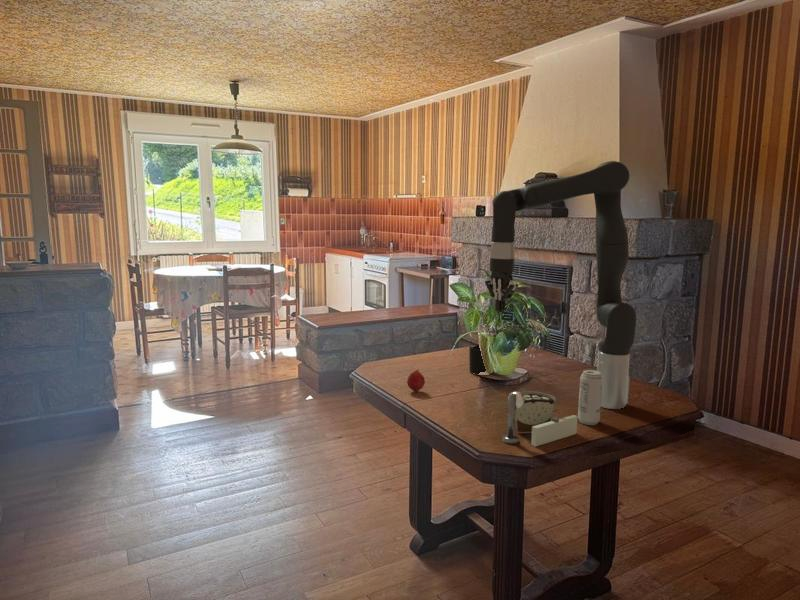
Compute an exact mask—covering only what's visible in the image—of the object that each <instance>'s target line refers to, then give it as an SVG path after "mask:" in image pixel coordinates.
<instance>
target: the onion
mask: <svg viewBox="0 0 800 600" xmlns="http://www.w3.org/2000/svg"><path fill="white" fill-rule="evenodd" d="M406 379H407V381H406V382H407V383H406V384H407V385H408V388H409V389H410V390H412V391H413V392H414V393H417V392H419V391H420V390H422V389H423V387H424V386H425V384H426V383H425V382H426V379H425V377H424V375H423V374H422V373H421V372H419V368H415V369H414V370H413V371H412V372H411V373H410V374H409V375H408V377H407V378H406Z"/></svg>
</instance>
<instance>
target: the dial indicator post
mask: <svg viewBox="0 0 800 600" xmlns="http://www.w3.org/2000/svg"><path fill="white" fill-rule="evenodd" d="M520 392H521V391H514V392H513V391H511V392H509V393H508V394H509V395H508V396H507V402H508V415H507V417H508V418H507V434H504V435H502V442H503V443H504V442H505V443H504V444H506V445H507V444H508V445H516V444H518V443H519V437H518V436H517V435H515V433H514V432H515V409H519V408H522V407H523V406H524V397H523V395H522V394H521V393H520Z"/></svg>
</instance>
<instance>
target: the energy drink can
mask: <svg viewBox="0 0 800 600" xmlns="http://www.w3.org/2000/svg"><path fill="white" fill-rule="evenodd" d="M602 380H603V379H602V377H601V373H600V372H599V371H597V369H596V370H594V369H584V370H582V374H581V375H580V377H579V394H578V409H577V416H578V418H577V420H579V422H580V423H581V424H583V425H586V426H595V425H598V423H599V422H600V419H601V408H602V407H601V394H602Z"/></svg>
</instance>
